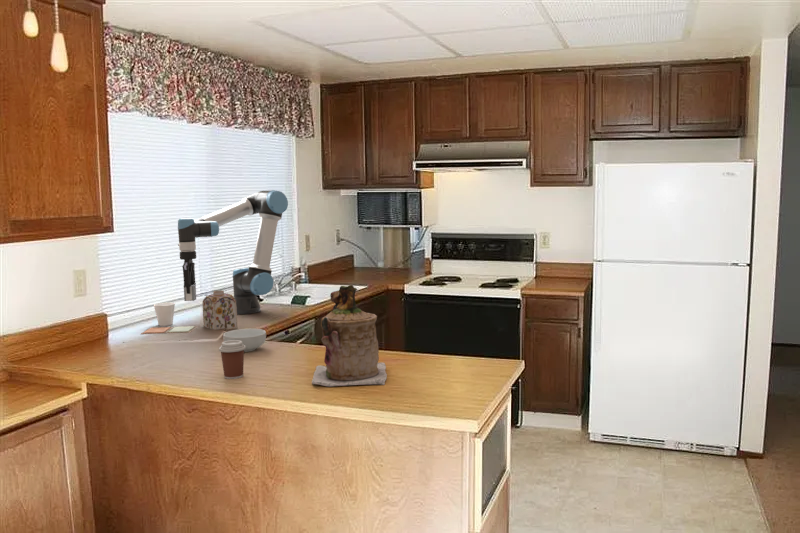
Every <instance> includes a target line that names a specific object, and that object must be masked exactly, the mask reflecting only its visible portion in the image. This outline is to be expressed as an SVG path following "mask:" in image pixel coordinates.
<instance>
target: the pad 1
mask: <svg viewBox="0 0 800 533" xmlns="http://www.w3.org/2000/svg"><path fill="white" fill-rule="evenodd" d="M149 328H150V329H149ZM149 328H147V329H148V330H147V329H146V330H147V331H146V330H144V331H145V332H144V331H143V332H144V333H163V334H165V333H164V332H166V331H167V330H168V329H170V328H171V326H167V327H166V326H161V327H160V326H159V327H149Z"/></svg>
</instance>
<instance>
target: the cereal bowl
mask: <svg viewBox="0 0 800 533" xmlns="http://www.w3.org/2000/svg"><path fill="white" fill-rule="evenodd" d="M222 337H223V342H225V341H230V340H240V341H242V343H243V344H244V345H245V346H246V349H245V350H244V353H247V352H248V353H249V352H253V351H255V350H256V349H257V348H259V347H261V346H262V345H263V344H264V343H265V342H266V339H267V332H266V330H265V329H261V328H249V327H248V328H237V329H232V330H227V331H226V332H225V331H224V333H223V336H222Z"/></svg>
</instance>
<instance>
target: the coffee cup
mask: <svg viewBox="0 0 800 533" xmlns="http://www.w3.org/2000/svg"><path fill="white" fill-rule="evenodd" d="M245 349H246V346H245V345H244V344H243V343H242V341H240V340H230V341H225V342H224V341H222V342H221V344H220V347H218V352H220V354H221V361H222V362H221V363H222V369H223V377H224V379H227V380H236V379H241V378H243V377H244V362H245V361H244V360H245V359H244V358H245V352H244V350H245Z"/></svg>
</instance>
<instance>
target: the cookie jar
mask: <svg viewBox="0 0 800 533" xmlns="http://www.w3.org/2000/svg"><path fill="white" fill-rule="evenodd" d="M357 290H358V288H357V287H355V286H354V285H353V284H349V285H347V286H346V285H341V286H340V287H339V289H338V290H335V291H332V292H331V293H330V297H329V298H330V300H331V302H332V303H334V305H333V307H332V310H331V311H330V312H329V313H327V314H326V315H325V316H323V317H321V320H320V327H321V331H322V336H321V337H322V338H321V342H322V345H323V346H324V347H325V354H324V364H325V365H317V366H315V371H314V372H313V377H312V380H311V385H312V386H313V385H320V386H325V387H338V386H339V387H341V386H357V385H358V386H359V385H383V386H385V385H386V384H385V382H387V376H388V374H387V371H386V369H387V365H386V364H385V362H381V361H380V362H379V359H380V356H379V355H380V354H379V350H380V349H379V341H378V338H377V327H376V322H377V319H378V315H376V314H375V313H371V312H365V311H363V310H362V309H361V308H360V307H357V305H356V304H357V303H356V299H355V298H356V291H357Z"/></svg>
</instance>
